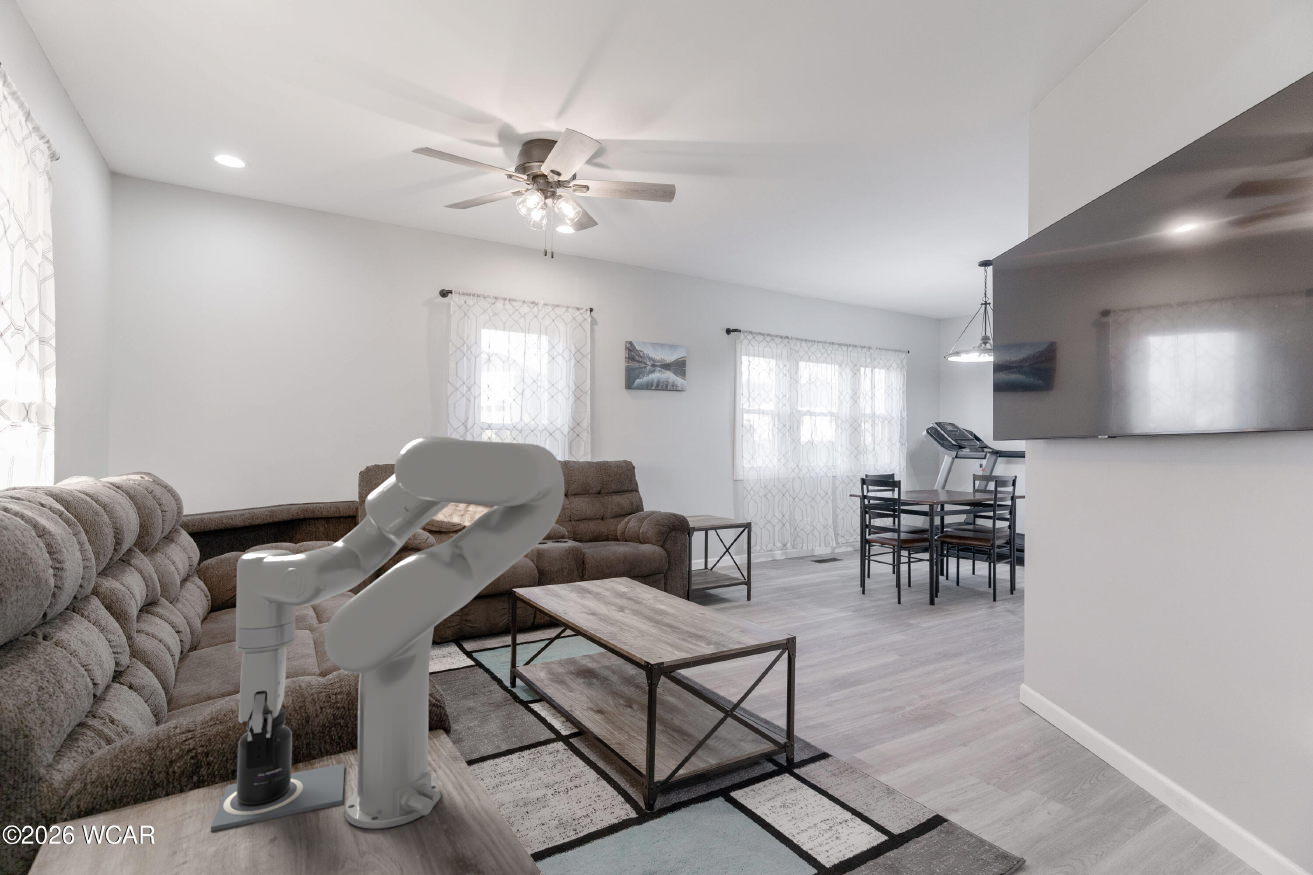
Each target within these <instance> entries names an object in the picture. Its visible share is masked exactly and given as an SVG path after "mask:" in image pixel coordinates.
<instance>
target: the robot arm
mask: <svg viewBox="0 0 1313 875" xmlns="http://www.w3.org/2000/svg"><path fill="white" fill-rule="evenodd" d="M394 463H395V464H394V471H393V472H394V474H393V475H391V476H389V478H388V479H386V480H384V482H382V483H381V484H380V485H379V486H377V487H376V488H375V489H374V490H372V491H371V492H370V493H369V494H368V495H367V497H366V498H365V501H364V508H365V512H366V516H365V517H364V518H363V520H362V521H361V522H359V524H357V525H356V526H355V527H354V528H353V529H352V530H351V531H350V532H349V533H347V534H346V535H344V536H343V537H341V539H339V540H338V541H337V542H335V543H334V544H332V545H329V546H325V547H320V548H317V549H313V550H310V551H305V552H301V553H297V554H294V552H291V551H289V550H286V549H264V550H263V549H262V550H257V551H251V552H247V553H245V554H243V555H241V557H239V559H238V561H237V564H236V594H235V595H236V602H235V605H236V607H235V610H236V611H235V612H236V613H235V616H236V619H235V625H236V626H235V650H236V651H237V652H241V653H242V659H241V666H240V667H241V668H240V681H239V682H240V683H239V684H240V685H239V686H240V688H239V704H238V705H239V706H238V722H239V723H240V724H244V723H245V722H247V721H248V719H249V716H250V719H249V720H250V721H249V730H247V732H248V739H247V756H246V767H247V769H252V768H258V767H263V766H269V765H272V763H273V754H274V735H271V733H272V721H273V719H274V718H275V717H276V716H277V715H278V714H279V711H280V708H282V705H283V702H284V697H285V689H286V688H285V687H286V677H287V673H286V672H287V671H286V670H287V647H288V646H291V645H293V644H295V643H296V607H307V606H311V605H315V604H317V603H320V602H322V601H325V600H327V599H329V598H331V597H334V596H337V595H340V594H342V593H345V592H347V591H350V590H351V589H353V588H355V587H357V586H358V585H359V584H361V583H362V582H363V581H364V580H366V579H367V578H368V577H370V576H371V575H372V574H374V573H375V572H376V571H377V570H378V569H380V568H381V567H382V566H383V565H384V564H386V563H387V562H388V561H389V560H390V559H391V558H392V557H394V555H395V554H396V553H397V552H398V551H399V550H400V549H401V548H402V547H403V546H404V545H405V543H406V542H407V540H408V539H409V538H410V537H412V535H414V534H415V533H416V532H418V530H420V529H421V528H422V527H423V526H425V525H426V524H427V523H428V522H430V521H431V520H432V519H433V518H435V517H436V516H437V515H439V513H440V512H442V511H443V510H444V509H446V508H447V507H448V506H449V505H451V504H452V503H453V504H464V505H465V504H466V505H467V504H468V505H479V506H492V507H491V508H490V509H489V510H487V511H486V512H484V513H483V514H482V515H480V516H478V518H476V519H475V520H474V521H472V523H471V524H469V525H468V526H466V527H464V529H463V530H461V531H459V533H457V534H456V535H454V536H453V537H452V538H450V539H448V540H447V541H444V542H442V543H440V544H438V545H434V546H432V547H429V548H426V549H423V550H420V551H417V552H415V553H413V554H411V555H409V556H407V557H405V558H404V559H402V560H401V561H399V562H398V563H397V564H395V565H393V566H392V567H391V568H390V569H388V570H387V571H386V572H385V573H383V574H382V575H381V576H379V577H378V578H377V579H376V580H374V581H373V582H371V584H369V585H367V586H366V587H365V588H364V589H362V590H361V591H360V592H359V593H357V594H355V596H353V597H351V598H350V599H349V600H348V601H346V602H345V603H344V604H343V605H342V606H341V607H340V608H338V609H337V610H336V612H334V614H333V615H332V617H330V620H329V621H328V623H327V626H326V629H325V632H324V638H323V640H324V641H323V642H324V650H325V652H326V656H327V657H328V659H329V660H330V661H331V663H332V664H333V665H334V666H336V667H337V668H339V669H340V670H343V671H345V672H349V673H355V674H359V679H358V689H357V690H358V691H357V692H358V695H357V697H358V700H357V701H358V702H357V703H358V704H357V791H355V792H354V793H353V794H352V795H351V796H350V797H349V798H348V799H347V800H346V803H345V807H344V814H345V815H344V816H345V818H346V820H347V822H348V823H350V824H351V825H353V826H356V827H359V828H362V829H363V828H364V829H373V830H375V829H386V828H387V829H388V828H392V827H397V826H400V825H405V824H407V823H410V822H413V821H415V820H417V819H419V818H421V817H422V816H427V815H428V814H430V812H432V810H433V808H434V807H435V806H436V804H437V803H438V801H439V800H440V799H441V796H442V795H441V792H440V788H439V785H438V783H437V782H436V781H435V780H433V779H432V773H430V772H429V693H430V689H429V688H430V661H431V660H430V659H431V650H432V645H433V644H432V643H433V637H434V631H435V630H434V629H435V627H436V626H437V625H438V624H439V623H441V622H443V621H444V620H445V619H446V618H447V617H449V616H451V615H452V614H455V612H458V611H459V610H460V609H461V608H463V607H465V605H466V606H467V604H468V603H470V602H471V601H472V600H473V599H474V598H475V597H476V596H477V595H478V594H479V593H480V592H481V591H482V590H483V589H485V587H487V586H488V585H489V584H491V583H492V582H493V581H495V580H496V579H497V578H499V577H500V576H501V575H503V574H504V573H505V572H506V571H508V570H509V569H510V568H511V567H512V566H513V565H514V564H515V563H517V562H519V560H520V559H522V558H524V556H526V554H529V552H530V551H532V550H533V549H534V548H535V547H536V546H537V545H538V544H540V543H541V542H542V541H543V539H544V538H545V537H546V535H548V533H549V532H550V531H551V530H552V529H553V527H554V525H555V523H556V521H557V520H558V517H559V515H560V513H561V510H562V508H563V507H562V506H563V503H564V499H565V479H564V473H563V470H562V467H561V463H560V461H559V460H558V459H557V457H556V455H555V454H554V453H553V452H551V451H550V450H549V449H547V448H546V447H544V446H541V445H538V444H534V443H524V442H523V443H520V442H502V441H501V442H500V441H485V440H484V441H482V440H481V441H480V440H468V439H465V440H464V439H458V438H455V437H451V436H433V435H431V436H429V435H428V436H422V437H418V438H415V439H414V440H412V441H410V442H408V443H407V444H406V445H405V446H404V447H403V448H402V449H401V451H400V452H399V454H398V456H397V458H396V459H395V462H394ZM264 713H269V714H265V715H264ZM264 721H267V725H266V723H263V722H264ZM266 727H267V728H266Z"/></svg>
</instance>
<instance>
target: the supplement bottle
mask: <svg viewBox="0 0 1313 875" xmlns="http://www.w3.org/2000/svg"><path fill="white" fill-rule="evenodd" d="M265 714H269V713H264V715H265ZM249 719H250V716H249ZM249 719H248V721H246V730H247V732H245V733H244V734H243V735H242V736H241V737H240V739H239V740H238V745H237V746H238V747H237V770H236V772H237V773H236V784H237V801H238V803H240V804H241V805H243V806H260V805H265V804H269V803H272V802H274V801H276V800H279V799H280V798H282V797H283V796H285V795H286V794H287V793H288V791H289V789H290V783H291V773H292V756H293V754H292V752H293V751H292V750H293V749H292V748H293V732H292V730H291V729H290V728H289V727H288V726H286V725H285V723H286V709H285V708H282V707H281V708H280V711H279V714H278V715H277V716H276V717H275V718H274V719H273V721H272V733H271V735H274V754H273V763H272V765H269V766H263V767H258V768H252V769H247V767H246V756H247V739H248V730H249V721H250V720H249ZM263 723H266V725H267V721H264V722H263ZM266 728H267V727H266Z"/></svg>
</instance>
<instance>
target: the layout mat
mask: <svg viewBox="0 0 1313 875" xmlns="http://www.w3.org/2000/svg"><path fill="white" fill-rule="evenodd" d="M344 777H345V763H339V764H335V765H330V766H324V767H319V768H313V769H312V768H311V769H307V770H303V771H298V772H291V783H290V789H289V791H288V793H287V794H286V795H285V796H283V797H282V798H280V799H279V800H276V801H274V802H272V803H269V804H265V805H260V806H243V805H241V804H240V803H238V801H237V783H233V784H227V786H226V789H225V791H224V793H223V796H222V798H221V801H220V803H219V806H218V808H217V811H216V813H215V816H214V818H213V821H212V823H211V826H210V832H215V831H220V830H223V829H224V830H225V829H229V828H233V827H237V826H238V827H239V826H243V825H248V824H252V823H258V822H261V821H262V822H263V821H266V820H271V819H278V818H281V817H286V816H291V815H295V814H300V813H304V812H310V811H315V810H319V809H325V808H330V807H333V806H340V805H343V799H344V783H345V782H344V780H345V778H344Z"/></svg>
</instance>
